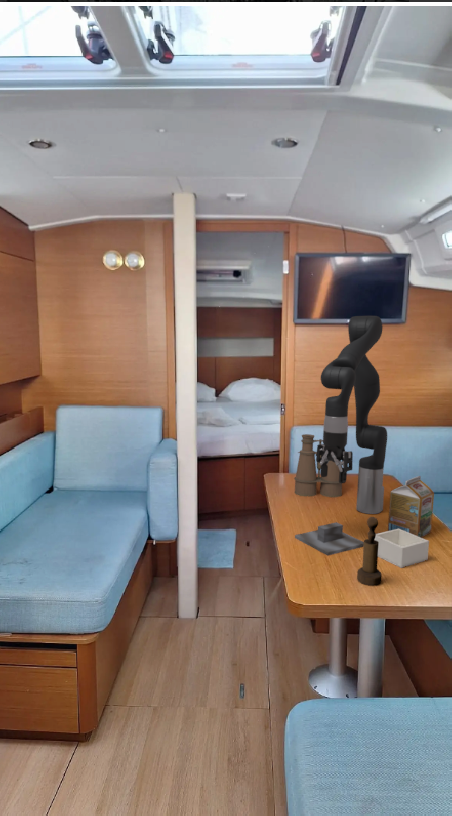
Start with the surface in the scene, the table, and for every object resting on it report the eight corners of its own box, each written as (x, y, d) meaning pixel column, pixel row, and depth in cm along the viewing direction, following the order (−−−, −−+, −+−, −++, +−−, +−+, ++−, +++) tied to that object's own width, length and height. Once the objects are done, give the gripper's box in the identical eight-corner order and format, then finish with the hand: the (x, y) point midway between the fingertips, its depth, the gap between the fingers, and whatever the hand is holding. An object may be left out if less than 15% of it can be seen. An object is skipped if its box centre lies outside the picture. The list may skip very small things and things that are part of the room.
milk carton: (402, 524, 191) (406, 472, 188) (431, 532, 183) (435, 478, 181) (387, 531, 184) (391, 477, 181) (416, 540, 176) (421, 484, 173)
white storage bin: (397, 546, 170) (398, 528, 169) (427, 559, 160) (429, 540, 159) (371, 553, 164) (372, 534, 163) (401, 567, 154) (402, 548, 154)
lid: (331, 531, 184) (332, 514, 183) (365, 547, 170) (366, 529, 169) (294, 539, 176) (295, 522, 175) (327, 557, 162) (328, 538, 161)
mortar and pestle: (353, 575, 149) (357, 513, 147) (376, 574, 150) (380, 513, 147) (361, 586, 143) (365, 521, 140) (385, 585, 143) (389, 521, 141)
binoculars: (340, 490, 230) (343, 434, 227) (344, 497, 220) (347, 438, 217) (292, 489, 231) (294, 432, 227) (294, 496, 221) (297, 437, 218)
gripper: (360, 432, 164) (357, 483, 166) (329, 425, 176) (326, 473, 178) (342, 434, 160) (339, 486, 162) (311, 427, 172) (309, 475, 174)
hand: (332, 479), depth 170 cm, fingers open, 8 cm apart
